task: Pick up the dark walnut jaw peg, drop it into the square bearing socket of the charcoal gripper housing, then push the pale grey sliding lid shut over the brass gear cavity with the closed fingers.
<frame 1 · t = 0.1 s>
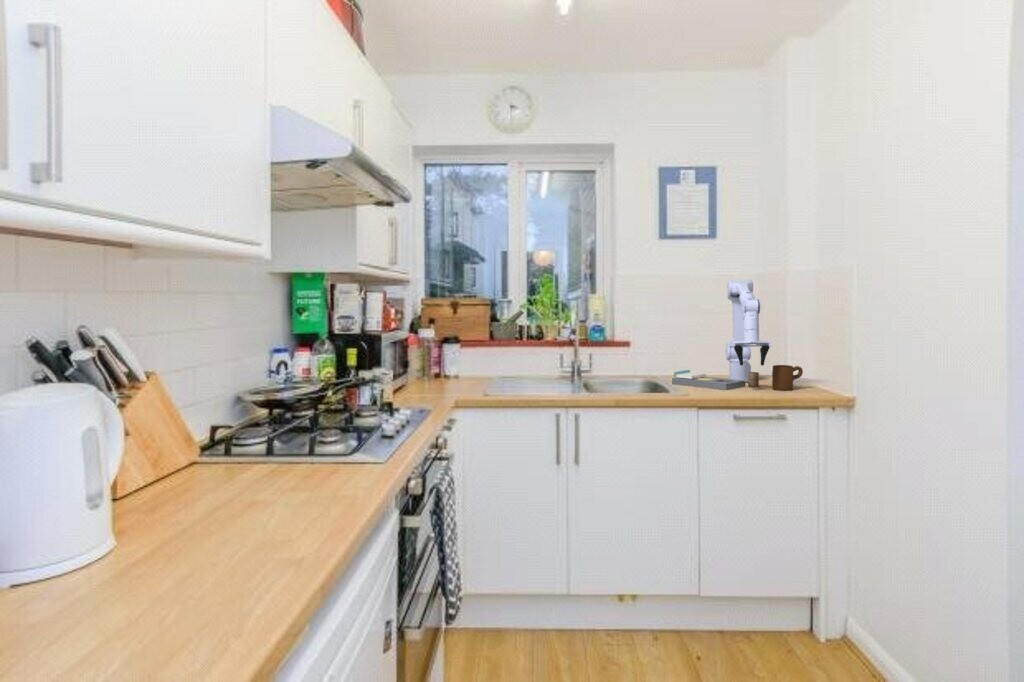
hand: (751, 365, 246), 10 cm above the countertop, tool pointing down, fingers open, 7 cm apart
lid: (689, 374, 275), point 4 cm above the countertop, slide at -8.0 cm
mug: (787, 389, 253), on the countertop
jaw peg: (753, 387, 261), on the countertop
housing: (714, 385, 266), on the countertop
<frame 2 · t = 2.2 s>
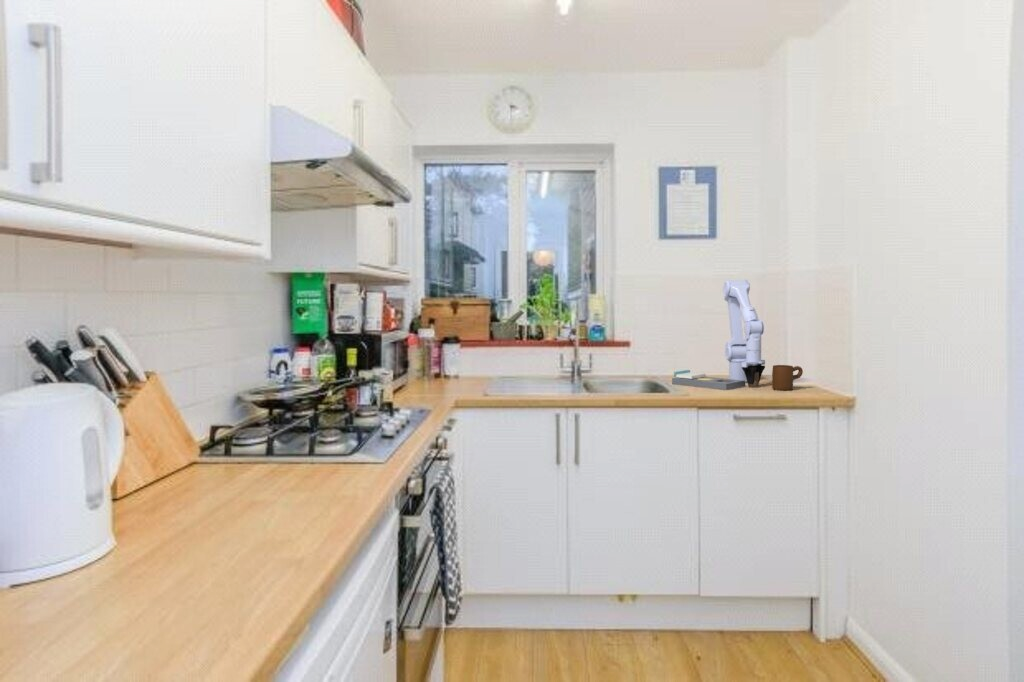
hand: (753, 383, 261), 1 cm above the countertop, tool pointing down, fingers closed on jaw peg, 4 cm apart
jaw peg: (753, 387, 261), on the countertop, touching gripper
everything else where it was.
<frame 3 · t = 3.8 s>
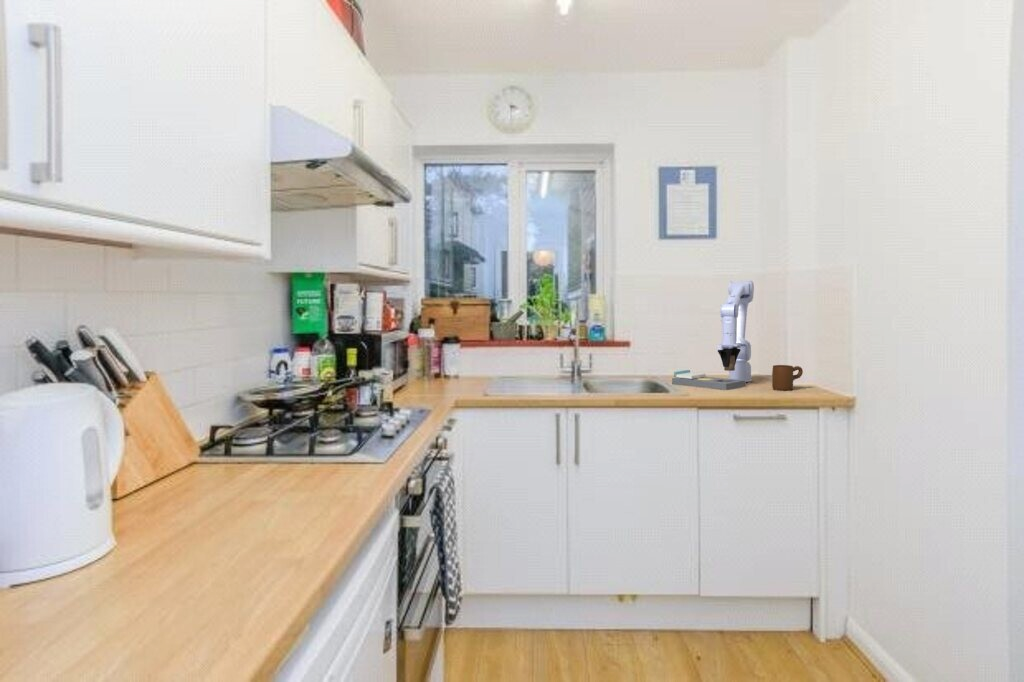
hand: (729, 366, 261), 8 cm above the countertop, tool pointing down, fingers closed on jaw peg, 4 cm apart
jaw peg: (729, 370, 261), point 7 cm above the countertop, touching gripper
everything else where it was.
when the fingers open (3 cm above the countertop, at t = 5.3 s): jaw peg drops 2 cm, resting in housing.
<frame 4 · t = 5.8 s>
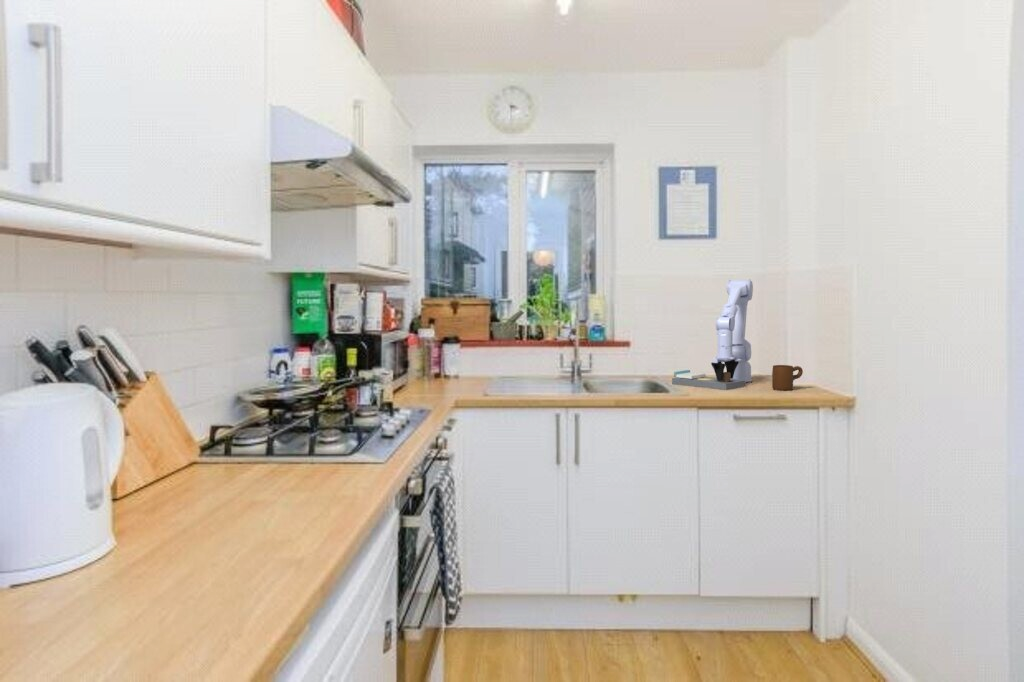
hand: (724, 379, 262), 3 cm above the countertop, tool pointing down, fingers open, 7 cm apart
jaw peg: (725, 387, 262), resting in housing
everything else where it was.
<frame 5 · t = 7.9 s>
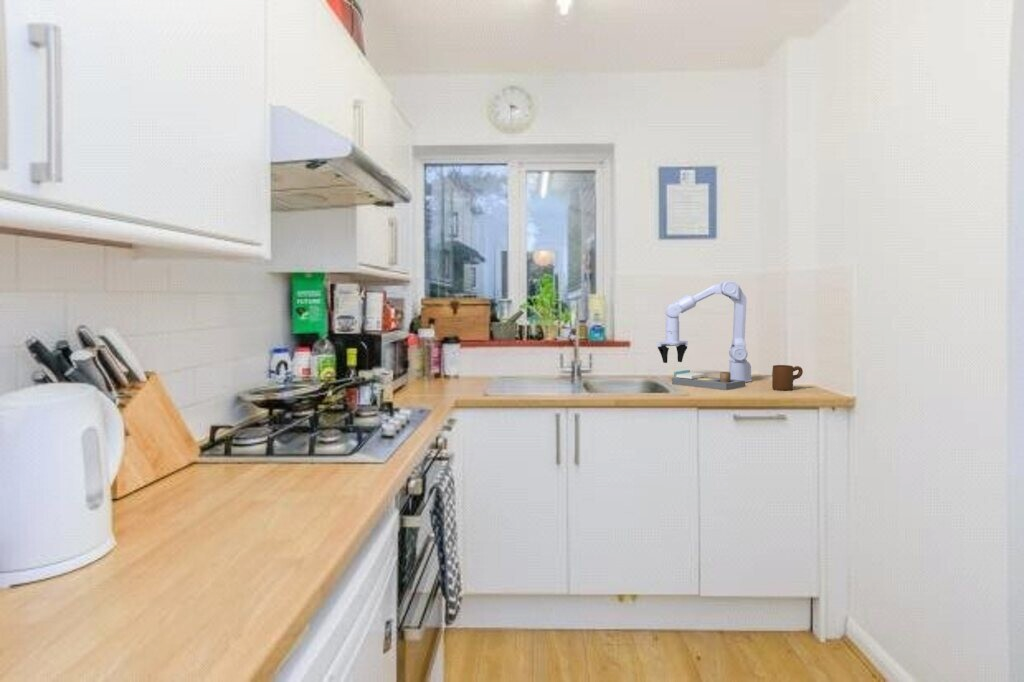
hand: (672, 362, 281), 8 cm above the countertop, tool pointing down, fingers open, 7 cm apart
nothing on the countertop moved.
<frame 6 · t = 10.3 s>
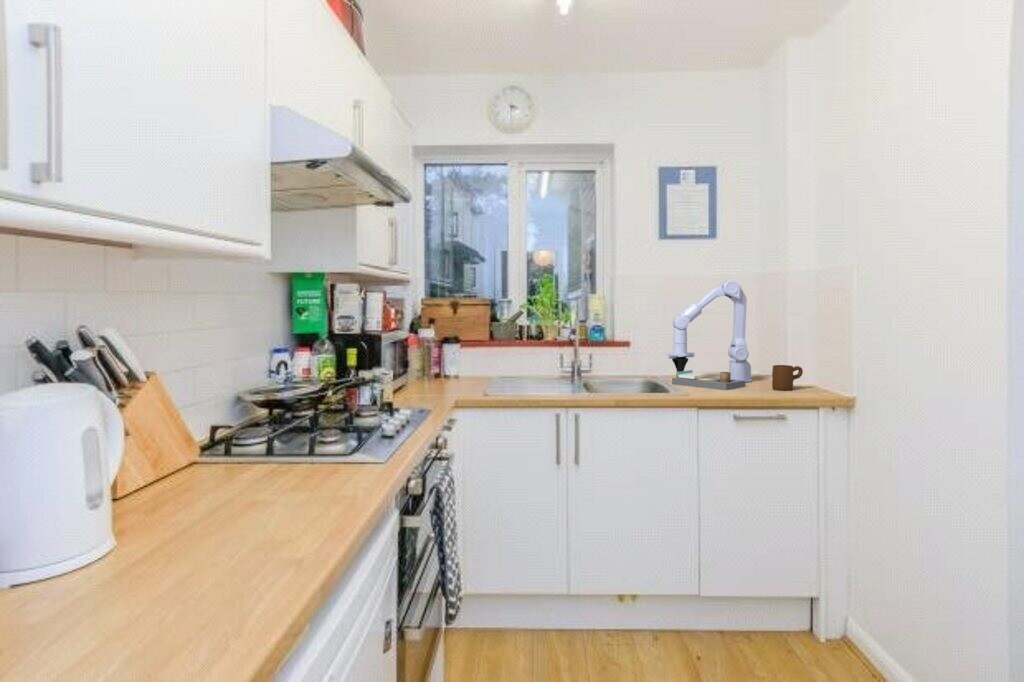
hand: (680, 374, 279), 3 cm above the countertop, tool pointing down, fingers closed
lid: (692, 374, 274), point 4 cm above the countertop, slide at -6.8 cm, touching gripper
everything else where it was.
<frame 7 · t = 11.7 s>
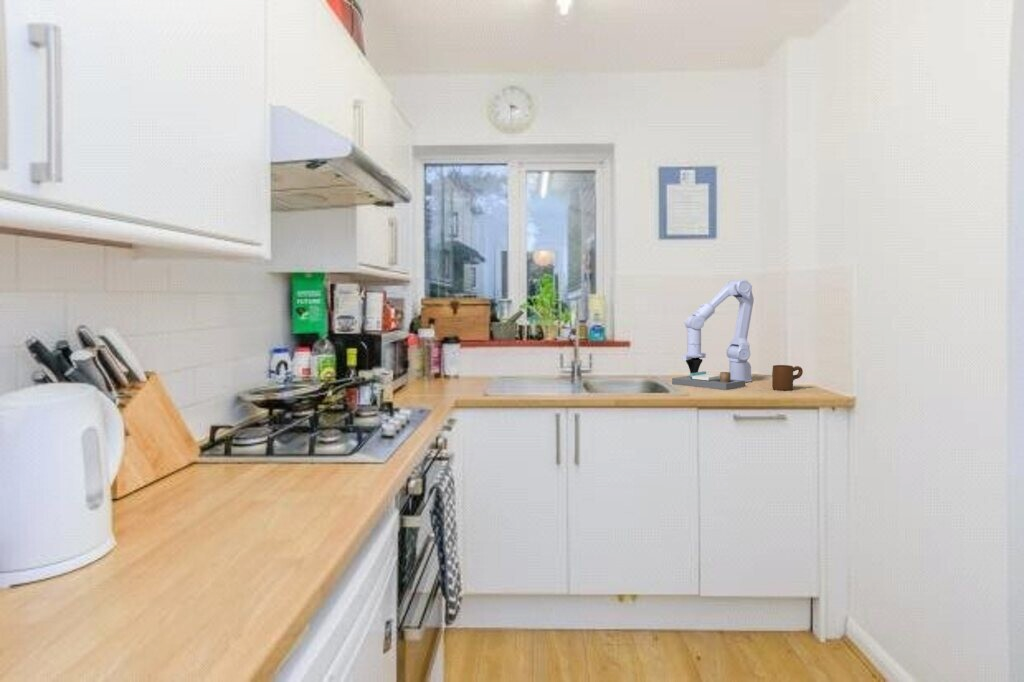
hand: (694, 375, 273), 3 cm above the countertop, tool pointing down, fingers closed, pressing on lid
lid: (706, 375, 269), point 4 cm above the countertop, slide at 0.1 cm, touching gripper
everything else where it was.
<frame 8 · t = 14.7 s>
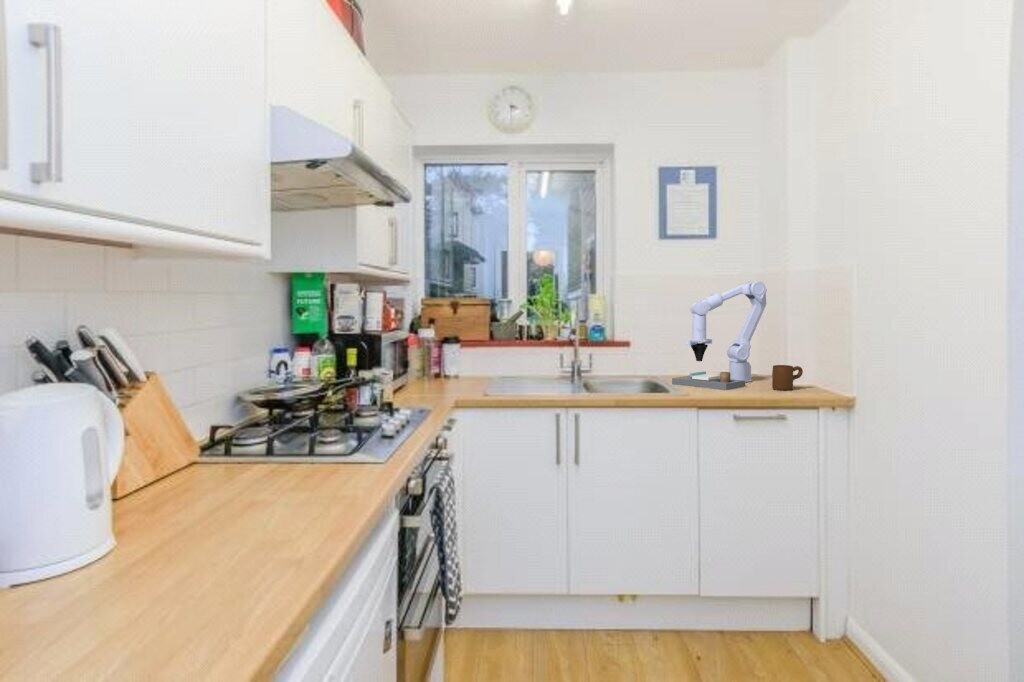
hand: (699, 361, 275), 9 cm above the countertop, tool pointing down, fingers closed
lid: (705, 375, 269), point 4 cm above the countertop, slide at 0.0 cm
everything else where it was.
at the end: jaw peg 0.2 cm from the target spot on the housing, point 0.0 cm above the housing's base; jaw peg tilted 0°; lid slide at 0.0 cm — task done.
